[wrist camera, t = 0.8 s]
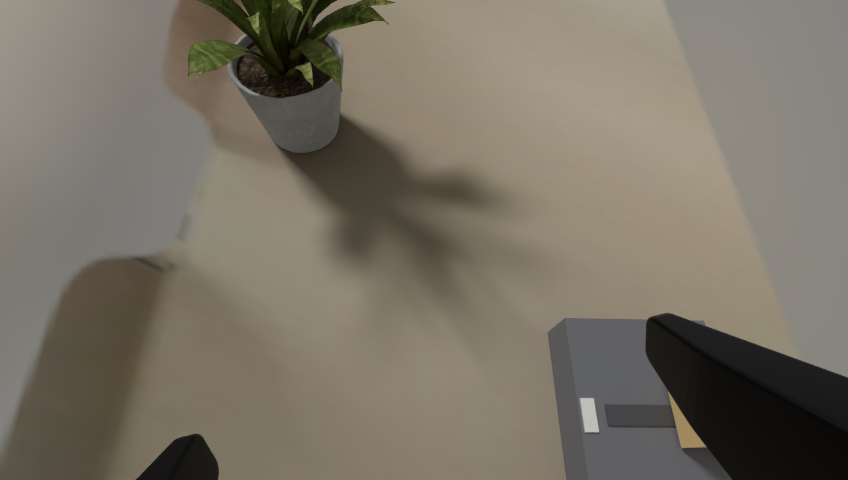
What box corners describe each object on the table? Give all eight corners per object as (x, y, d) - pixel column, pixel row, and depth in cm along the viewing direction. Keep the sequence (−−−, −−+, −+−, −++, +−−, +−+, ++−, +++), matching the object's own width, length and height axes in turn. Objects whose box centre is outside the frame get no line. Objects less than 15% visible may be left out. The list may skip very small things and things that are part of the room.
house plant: (323, 259, 28) (248, 46, 14) (156, 167, 31) (-60, -99, 16) (428, 115, 34) (455, -141, 20) (283, 47, 37) (209, -227, 22)
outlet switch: (728, 448, 22) (758, 446, 20) (681, 447, 22) (707, 446, 20) (710, 384, 23) (737, 378, 21) (666, 384, 23) (689, 378, 21)
